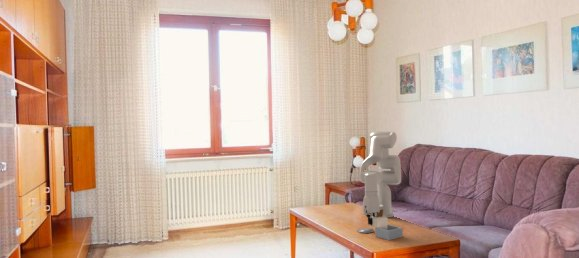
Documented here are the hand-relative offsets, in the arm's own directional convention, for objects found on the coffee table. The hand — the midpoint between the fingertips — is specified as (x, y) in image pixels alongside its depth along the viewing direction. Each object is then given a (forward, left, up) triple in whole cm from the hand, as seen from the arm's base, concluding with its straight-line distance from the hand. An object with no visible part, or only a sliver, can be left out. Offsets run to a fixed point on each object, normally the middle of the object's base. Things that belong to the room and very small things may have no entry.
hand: (372, 223), depth 261 cm
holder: (0, +13, -5) cm, 14 cm away
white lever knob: (0, +4, -4) cm, 6 cm away
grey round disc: (+2, -3, -5) cm, 6 cm away
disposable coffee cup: (-16, -11, -5) cm, 20 cm away
